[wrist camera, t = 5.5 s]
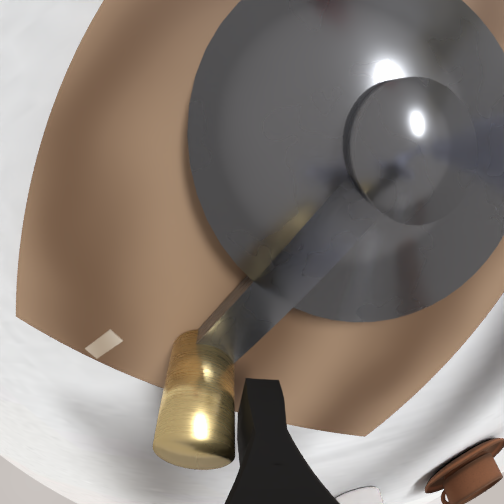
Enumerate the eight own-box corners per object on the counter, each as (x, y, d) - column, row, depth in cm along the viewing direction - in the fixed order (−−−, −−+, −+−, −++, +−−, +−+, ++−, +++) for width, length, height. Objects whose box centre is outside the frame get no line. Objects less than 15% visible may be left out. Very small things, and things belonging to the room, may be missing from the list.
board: (577, 81, 7) (591, 83, 6) (360, 421, 17) (365, 437, 15) (290, -161, 2) (294, -174, 1) (27, 301, 12) (15, 317, 11)
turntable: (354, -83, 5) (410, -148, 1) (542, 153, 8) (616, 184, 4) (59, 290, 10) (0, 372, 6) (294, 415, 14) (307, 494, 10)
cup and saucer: (477, 460, 28) (490, 490, 22) (410, 490, 28) (421, 525, 22) (514, 416, 22) (534, 451, 17) (440, 455, 23) (458, 499, 17)
